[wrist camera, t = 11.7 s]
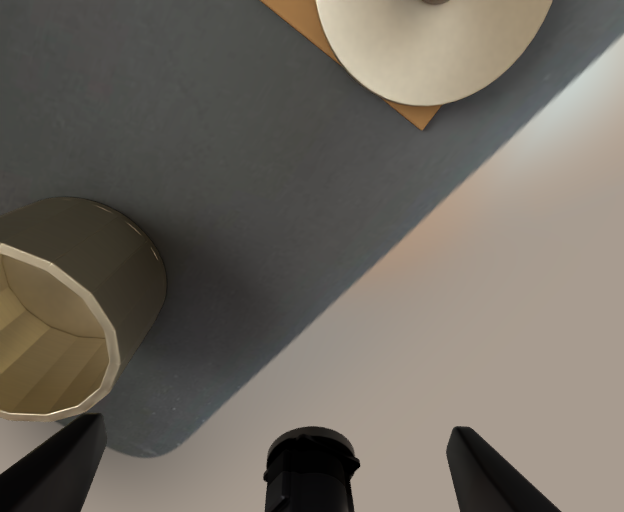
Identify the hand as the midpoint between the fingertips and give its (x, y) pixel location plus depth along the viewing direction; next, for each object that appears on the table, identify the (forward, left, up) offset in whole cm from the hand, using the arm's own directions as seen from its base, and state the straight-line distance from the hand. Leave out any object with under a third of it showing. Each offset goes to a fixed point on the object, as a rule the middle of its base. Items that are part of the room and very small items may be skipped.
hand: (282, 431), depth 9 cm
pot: (+9, +9, -13) cm, 18 cm away
